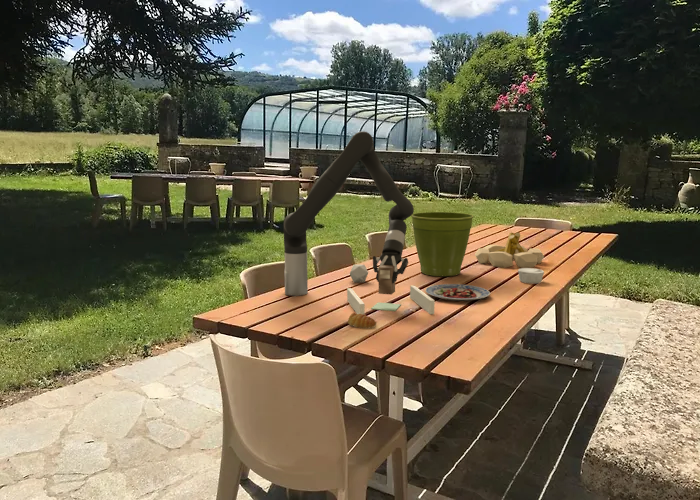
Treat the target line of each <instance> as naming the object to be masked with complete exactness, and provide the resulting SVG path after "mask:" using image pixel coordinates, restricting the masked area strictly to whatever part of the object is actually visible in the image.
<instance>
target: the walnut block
mask: <svg viewBox="0 0 700 500" xmlns="http://www.w3.org/2000/svg"><path fill="white" fill-rule="evenodd" d="M379 266H380V265H379ZM379 266H378V267H379ZM393 272H394V266H393V265H381V266H380V267H379V282H378V294H379V295H393V294H394V293H395V292H396V282H395V283H392V276H393Z"/></svg>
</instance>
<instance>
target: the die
mask: <svg viewBox="0 0 700 500" xmlns="http://www.w3.org/2000/svg"><path fill="white" fill-rule="evenodd" d="M368 274H369V271H368V269H367V268H366V265H365V264H353V265H352V267H351V269H350V272H349V275H350V278H351V280H352V282H353V283H366V280H367V277H368Z"/></svg>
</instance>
